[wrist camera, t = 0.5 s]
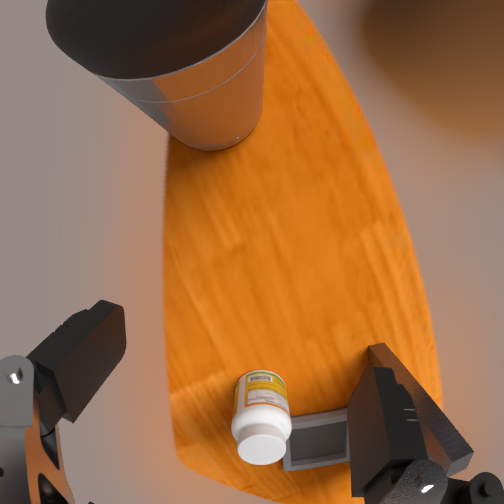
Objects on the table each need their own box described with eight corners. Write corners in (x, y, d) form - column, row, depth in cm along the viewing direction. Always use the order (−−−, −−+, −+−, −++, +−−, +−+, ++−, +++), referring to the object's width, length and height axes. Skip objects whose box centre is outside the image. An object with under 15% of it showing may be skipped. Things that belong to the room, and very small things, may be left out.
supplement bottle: (259, 415, 31) (259, 477, 21) (225, 387, 30) (214, 449, 21) (296, 389, 30) (308, 450, 21) (262, 359, 30) (264, 418, 20)
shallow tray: (278, 418, 31) (278, 425, 30) (354, 405, 31) (357, 411, 29) (283, 465, 32) (284, 471, 31) (350, 453, 32) (353, 460, 31)
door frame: (368, 345, 29) (452, 462, 12) (384, 342, 29) (474, 451, 12) (359, 461, 32) (394, 562, 15) (371, 458, 32) (410, 556, 14)
